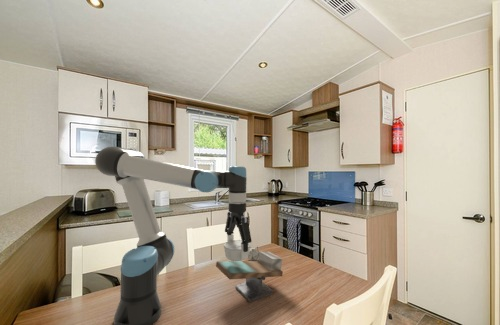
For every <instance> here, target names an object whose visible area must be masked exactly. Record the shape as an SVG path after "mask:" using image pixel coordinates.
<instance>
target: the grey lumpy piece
mask: <svg viewBox="0 0 500 325" xmlns="http://www.w3.org/2000/svg"><path fill="white" fill-rule="evenodd" d="M258 248H259V247H258V246H256V247H253V246H252V247H251V246H250V248H249V254H248V261H258V256H259V249H258Z"/></svg>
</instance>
